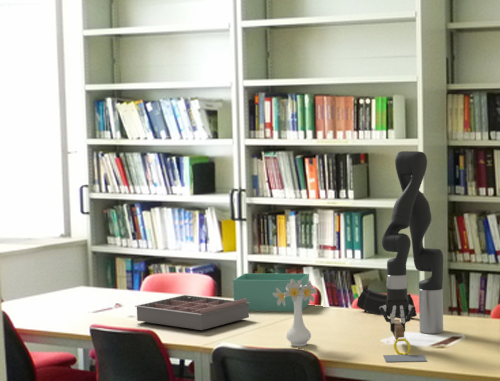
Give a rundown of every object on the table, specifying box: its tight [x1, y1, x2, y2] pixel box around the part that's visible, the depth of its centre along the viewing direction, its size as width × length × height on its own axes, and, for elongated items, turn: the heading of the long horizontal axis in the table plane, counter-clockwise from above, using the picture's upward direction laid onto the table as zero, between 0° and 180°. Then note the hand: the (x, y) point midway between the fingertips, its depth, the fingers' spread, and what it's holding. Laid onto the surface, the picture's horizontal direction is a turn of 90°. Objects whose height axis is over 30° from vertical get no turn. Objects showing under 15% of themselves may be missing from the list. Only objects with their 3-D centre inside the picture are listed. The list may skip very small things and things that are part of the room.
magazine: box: [356, 287, 418, 318], centre depth 382 cm, size 17×3×30 cm
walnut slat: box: [392, 319, 405, 342], centre depth 323 cm, size 14×3×4 cm, turn 177°
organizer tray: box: [134, 294, 250, 331], centre depth 381 cm, size 32×40×10 cm
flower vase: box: [272, 278, 318, 347], centre depth 330 cm, size 13×18×25 cm
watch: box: [393, 336, 412, 355], centre depth 311 cm, size 6×3×6 cm, turn 52°
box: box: [232, 272, 311, 312], centre depth 411 cm, size 21×32×14 cm, turn 75°
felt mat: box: [383, 353, 428, 363], centre depth 304 cm, size 9×14×1 cm, turn 87°
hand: (397, 332), depth 323 cm, fingers closed on walnut slat, 2 cm apart
